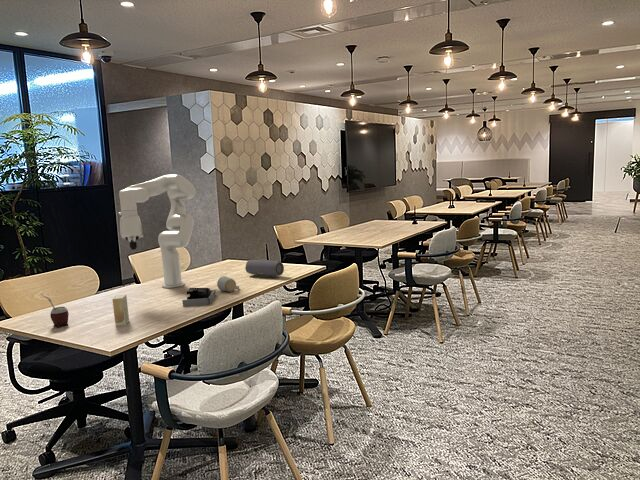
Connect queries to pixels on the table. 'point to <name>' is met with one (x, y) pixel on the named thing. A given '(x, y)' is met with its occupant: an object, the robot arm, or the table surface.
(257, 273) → the bluetooth speaker
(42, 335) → the table surface
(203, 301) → the tray
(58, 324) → the mate gourd
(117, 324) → the skincare box
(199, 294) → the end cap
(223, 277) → the ceramic mug
